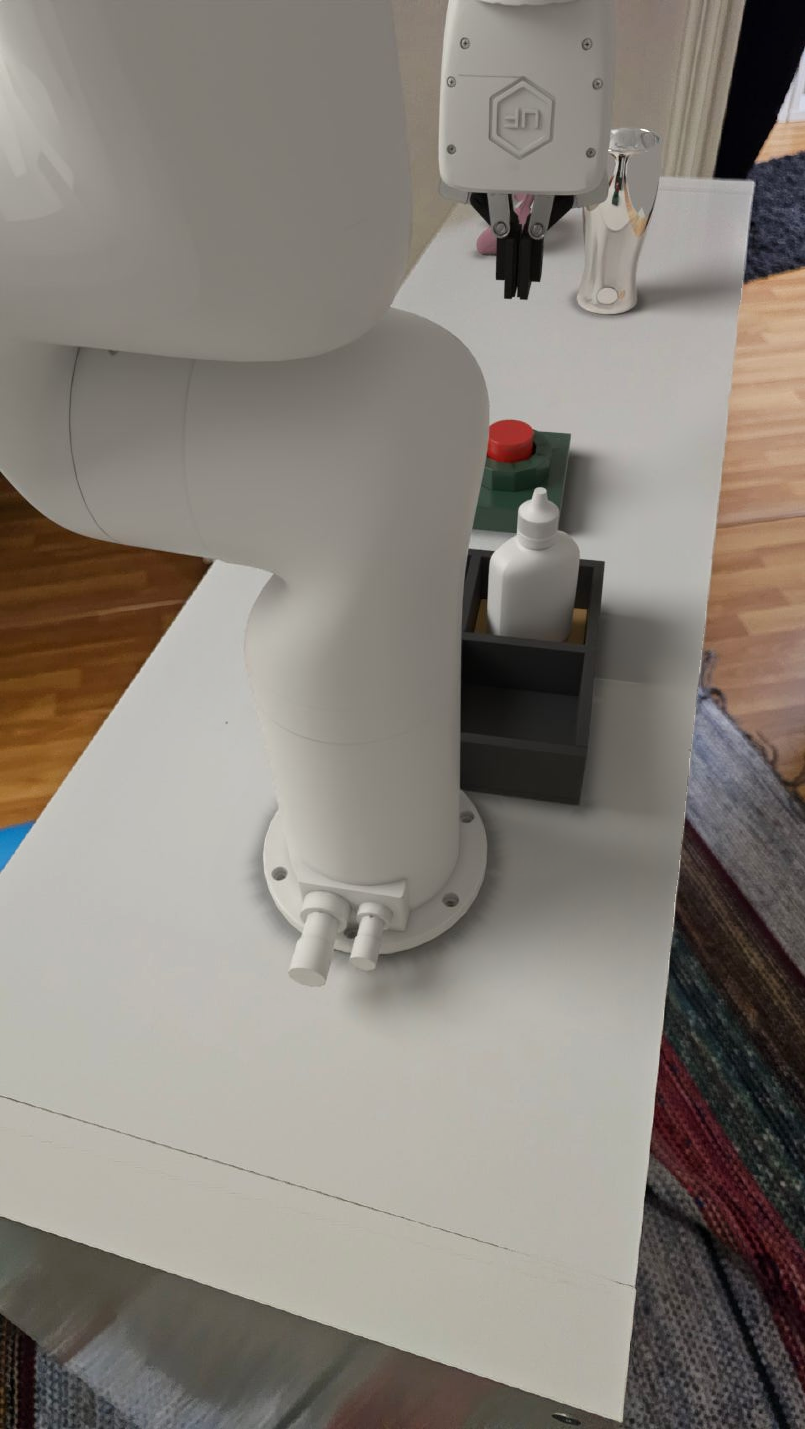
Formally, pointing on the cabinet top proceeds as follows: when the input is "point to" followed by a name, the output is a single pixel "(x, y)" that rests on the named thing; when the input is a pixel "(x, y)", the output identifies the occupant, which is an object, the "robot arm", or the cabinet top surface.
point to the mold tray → (526, 696)
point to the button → (510, 441)
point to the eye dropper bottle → (534, 576)
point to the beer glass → (620, 221)
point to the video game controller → (522, 209)
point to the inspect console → (522, 482)
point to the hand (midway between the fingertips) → (518, 289)
